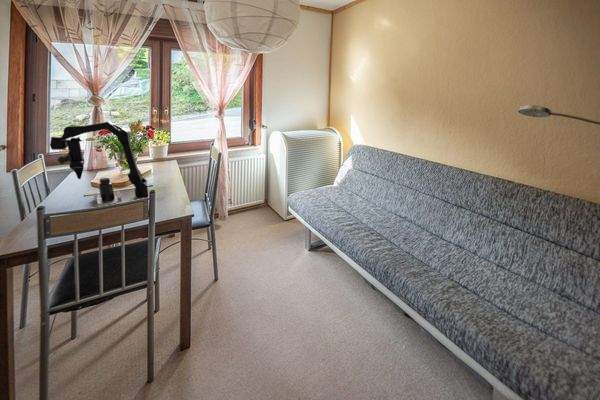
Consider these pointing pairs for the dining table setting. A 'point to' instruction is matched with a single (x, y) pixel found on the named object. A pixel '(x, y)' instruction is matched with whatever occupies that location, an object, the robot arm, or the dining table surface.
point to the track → (99, 202)
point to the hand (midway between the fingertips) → (79, 177)
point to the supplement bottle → (106, 189)
